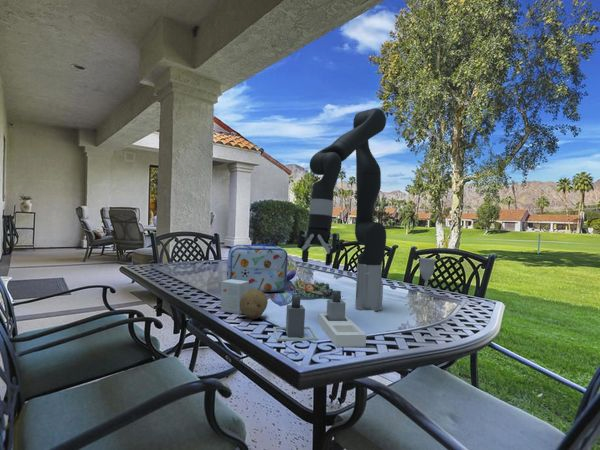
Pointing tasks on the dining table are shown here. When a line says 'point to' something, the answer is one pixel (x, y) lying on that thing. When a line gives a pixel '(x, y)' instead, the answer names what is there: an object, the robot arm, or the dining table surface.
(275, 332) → the tray
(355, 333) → the cream socket block
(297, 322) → the plug
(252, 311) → the natural sponge
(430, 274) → the chalice
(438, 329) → the dining table surface
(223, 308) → the small box
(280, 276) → the lunch box
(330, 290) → the plated dish
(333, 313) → the seated twin plug
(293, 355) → the dining table surface
